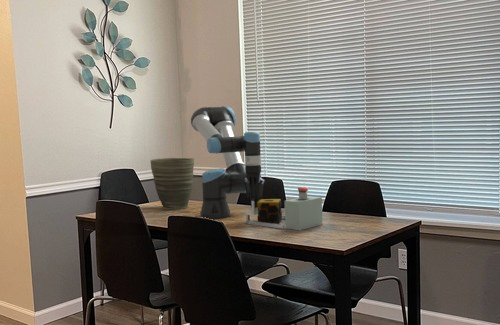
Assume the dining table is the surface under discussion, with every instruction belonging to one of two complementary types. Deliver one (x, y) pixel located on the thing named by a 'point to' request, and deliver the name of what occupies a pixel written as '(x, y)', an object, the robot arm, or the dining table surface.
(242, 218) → the dining table surface
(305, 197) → the plunger
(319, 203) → the gauge cabinet
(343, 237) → the dining table surface
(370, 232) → the dining table surface
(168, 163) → the vase
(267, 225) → the rail track
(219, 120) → the robot arm
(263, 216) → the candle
